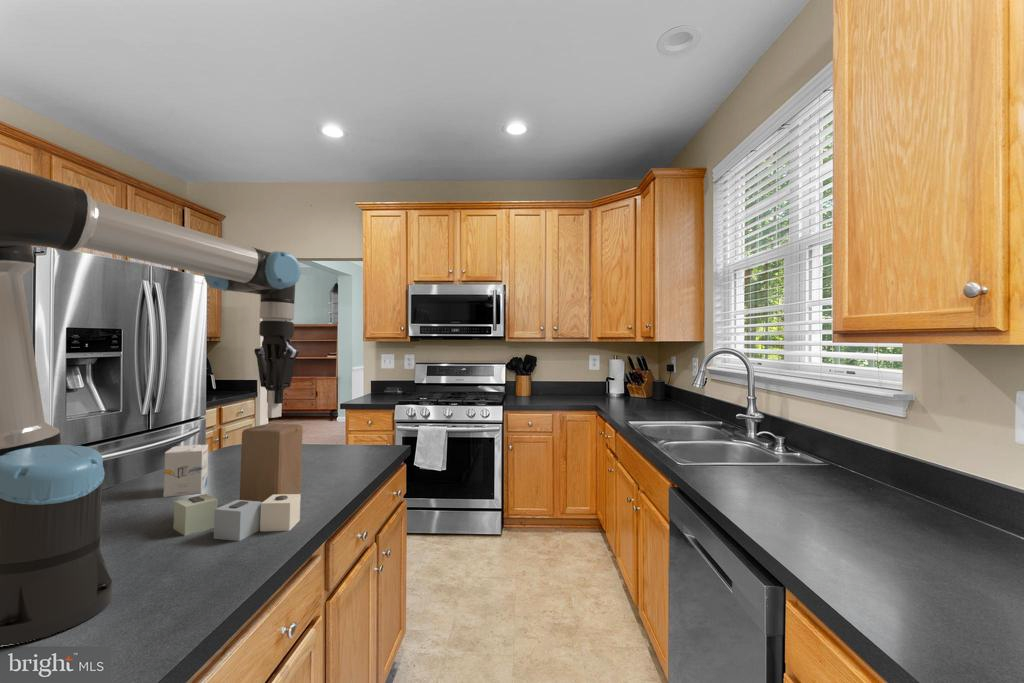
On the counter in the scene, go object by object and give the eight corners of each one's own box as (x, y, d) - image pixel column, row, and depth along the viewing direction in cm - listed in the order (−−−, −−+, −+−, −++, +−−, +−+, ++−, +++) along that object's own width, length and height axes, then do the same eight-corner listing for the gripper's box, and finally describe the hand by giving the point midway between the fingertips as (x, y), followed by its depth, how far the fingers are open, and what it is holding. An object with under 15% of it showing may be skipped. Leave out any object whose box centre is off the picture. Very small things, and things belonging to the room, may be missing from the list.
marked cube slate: (239, 541, 90) (240, 510, 90) (213, 538, 91) (214, 507, 91) (260, 529, 96) (261, 500, 96) (236, 527, 97) (237, 498, 97)
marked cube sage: (184, 536, 92) (186, 505, 92) (173, 529, 95) (174, 499, 96) (217, 527, 97) (218, 497, 97) (205, 520, 100) (206, 492, 101)
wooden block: (301, 503, 113) (304, 424, 113) (277, 517, 103) (280, 430, 103) (264, 501, 114) (267, 422, 114) (236, 515, 104) (240, 429, 104)
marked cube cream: (289, 531, 96) (290, 501, 96) (260, 531, 95) (261, 502, 95) (299, 520, 102) (300, 492, 102) (272, 521, 101) (273, 493, 101)
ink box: (171, 488, 123) (172, 445, 123) (207, 484, 126) (209, 443, 126) (162, 497, 115) (163, 452, 115) (201, 494, 118) (203, 449, 119)
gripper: (308, 321, 110) (306, 416, 110) (272, 322, 116) (269, 413, 115) (282, 319, 103) (279, 421, 103) (244, 319, 109) (242, 416, 108)
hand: (274, 416), depth 109 cm, fingers closed
